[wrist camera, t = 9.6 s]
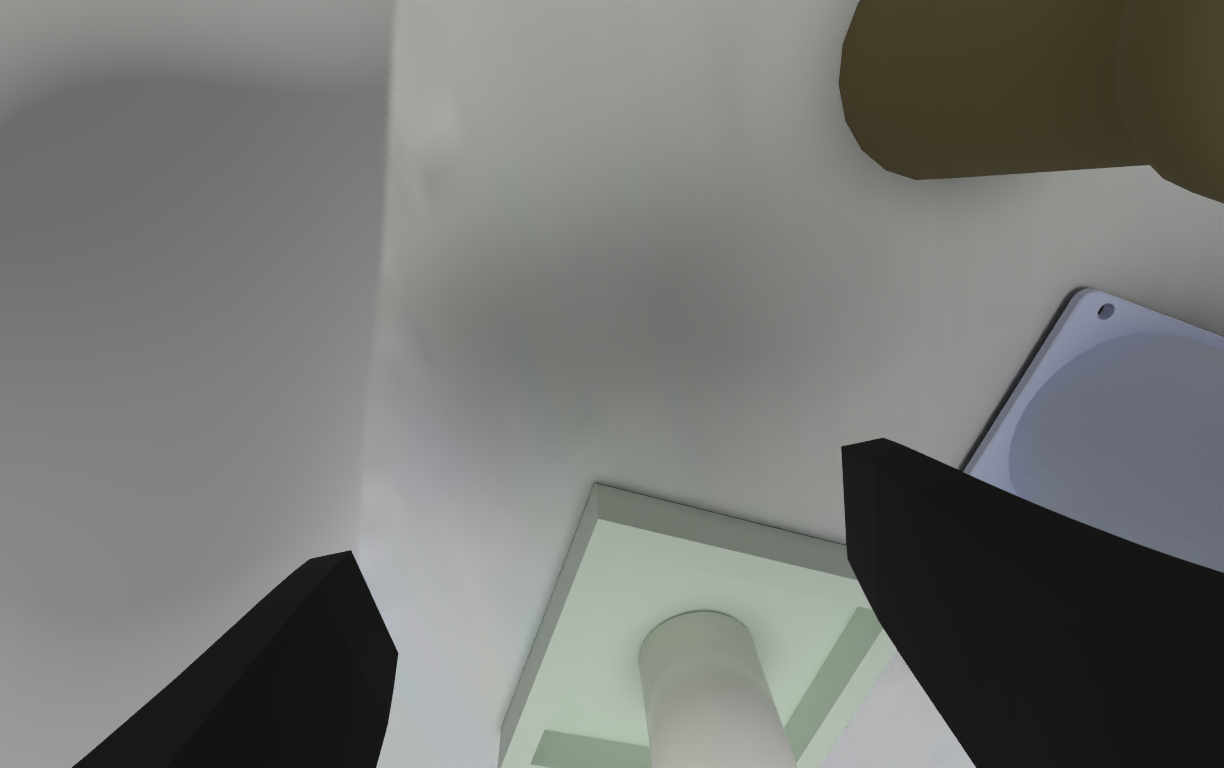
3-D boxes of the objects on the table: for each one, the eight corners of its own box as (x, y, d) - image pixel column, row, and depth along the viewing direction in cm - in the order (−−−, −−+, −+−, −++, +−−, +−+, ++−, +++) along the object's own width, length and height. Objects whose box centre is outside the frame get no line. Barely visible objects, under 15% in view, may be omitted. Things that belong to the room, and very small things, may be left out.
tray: (902, 559, 23) (931, 598, 21) (769, 773, 27) (783, 820, 26) (594, 483, 21) (598, 518, 19) (501, 729, 25) (496, 778, 23)
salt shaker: (773, 625, 23) (852, 825, 17) (725, 705, 25) (781, 915, 18) (663, 600, 22) (704, 802, 16) (621, 685, 24) (642, 898, 18)
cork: (1083, 109, 17) (1816, 103, 7) (881, 219, 18) (1285, 352, 8) (1035, -132, 15) (2009, -633, 5) (805, 6, 16) (1239, -181, 6)
